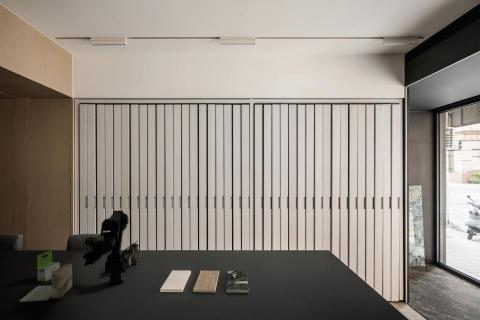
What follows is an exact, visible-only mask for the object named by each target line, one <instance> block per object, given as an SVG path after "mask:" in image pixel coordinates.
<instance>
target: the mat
mask: <svg viewBox="0 0 480 320" xmlns="http://www.w3.org/2000/svg"><path fill="white" fill-rule="evenodd" d="M51 298H52V284H51V285H39V286H36V287H35V288H34V289H32V290H31V291H30V292H28V293H27V294H26V295H25V296H24V297H22V298H21V299H20V300H19V303H25V302H26V303H27V302H41V301H48V300H49V299H51Z"/></svg>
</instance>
